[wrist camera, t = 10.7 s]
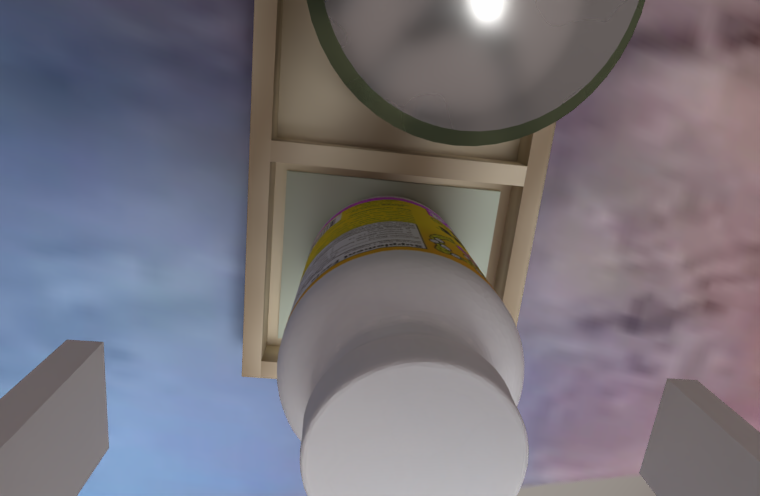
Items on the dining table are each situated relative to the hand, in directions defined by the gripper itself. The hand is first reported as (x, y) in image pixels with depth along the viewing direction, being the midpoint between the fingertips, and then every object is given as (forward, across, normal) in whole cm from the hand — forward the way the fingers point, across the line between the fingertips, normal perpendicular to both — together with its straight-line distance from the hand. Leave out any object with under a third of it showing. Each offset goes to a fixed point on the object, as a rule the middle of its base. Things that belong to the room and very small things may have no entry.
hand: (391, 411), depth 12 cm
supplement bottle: (+11, +1, 0) cm, 11 cm away
